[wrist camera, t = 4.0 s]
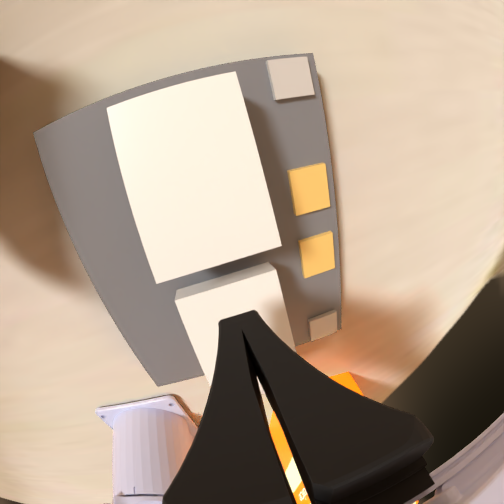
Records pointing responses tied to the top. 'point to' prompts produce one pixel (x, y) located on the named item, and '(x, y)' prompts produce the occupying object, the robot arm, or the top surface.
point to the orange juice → (285, 452)
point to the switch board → (163, 294)
